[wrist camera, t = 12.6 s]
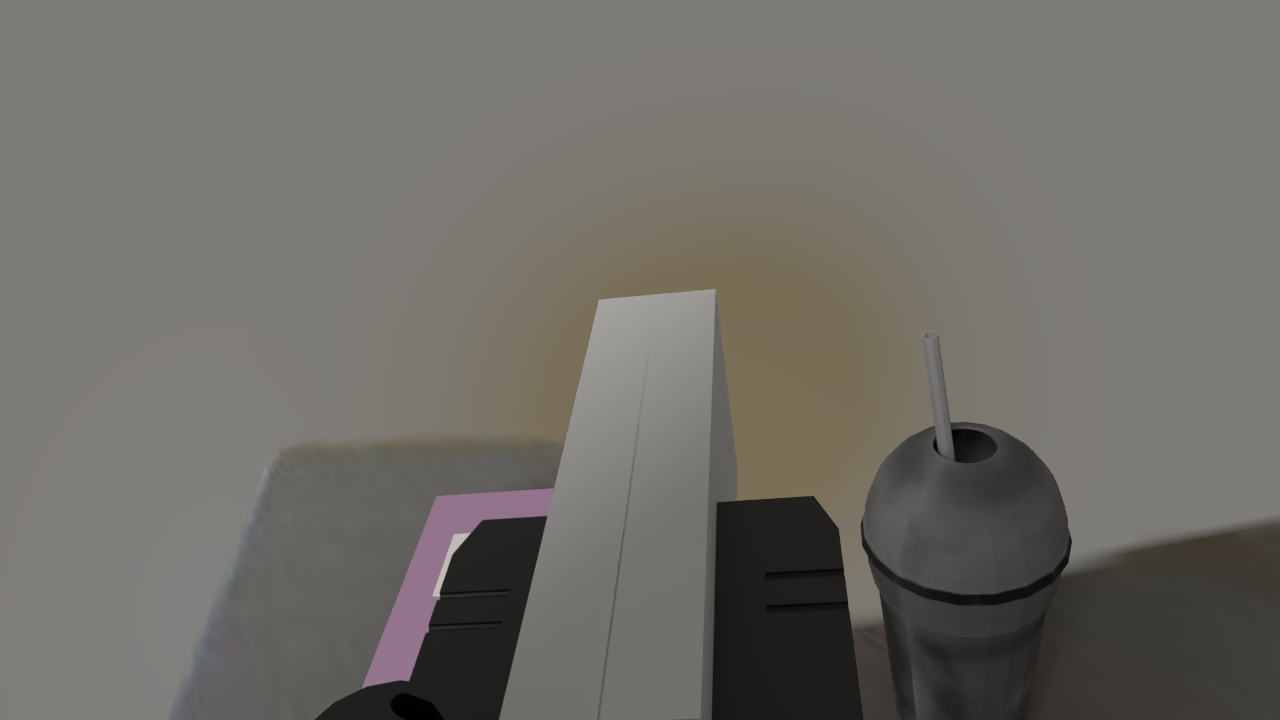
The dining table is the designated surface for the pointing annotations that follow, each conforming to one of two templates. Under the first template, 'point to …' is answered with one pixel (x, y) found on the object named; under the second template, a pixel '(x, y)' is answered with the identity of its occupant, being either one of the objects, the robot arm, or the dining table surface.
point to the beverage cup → (963, 563)
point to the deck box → (440, 571)
